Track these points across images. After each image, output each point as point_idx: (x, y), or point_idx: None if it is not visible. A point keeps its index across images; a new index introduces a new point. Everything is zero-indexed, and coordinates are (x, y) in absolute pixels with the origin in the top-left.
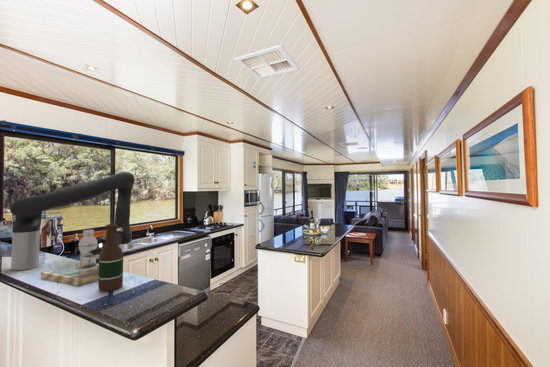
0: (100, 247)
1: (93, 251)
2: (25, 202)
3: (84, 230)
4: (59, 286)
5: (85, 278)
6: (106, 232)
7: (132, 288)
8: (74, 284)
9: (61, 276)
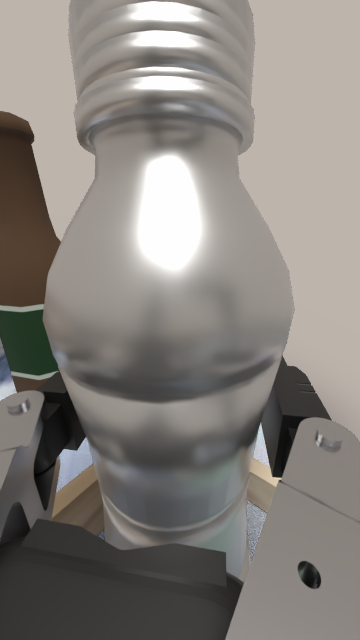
0: (24, 396)
1: None
2: None
3: (247, 34)
4: (268, 460)
5: None
6: (36, 166)
7: (7, 379)
8: None
9: None
